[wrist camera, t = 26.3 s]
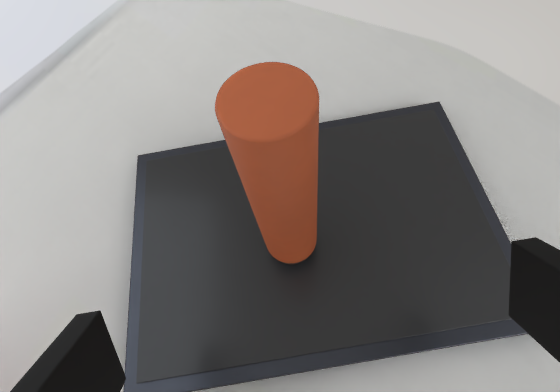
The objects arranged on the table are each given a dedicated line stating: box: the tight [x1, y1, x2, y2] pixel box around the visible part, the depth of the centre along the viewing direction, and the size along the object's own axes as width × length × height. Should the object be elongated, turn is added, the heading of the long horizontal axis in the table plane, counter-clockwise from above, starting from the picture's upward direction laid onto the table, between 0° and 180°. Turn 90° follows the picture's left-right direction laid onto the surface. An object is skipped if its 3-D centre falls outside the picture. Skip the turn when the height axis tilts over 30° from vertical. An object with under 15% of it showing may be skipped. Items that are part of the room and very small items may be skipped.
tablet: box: [124, 102, 528, 392], centre depth 19 cm, size 20×14×1 cm
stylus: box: [215, 62, 319, 265], centre depth 13 cm, size 3×3×11 cm
